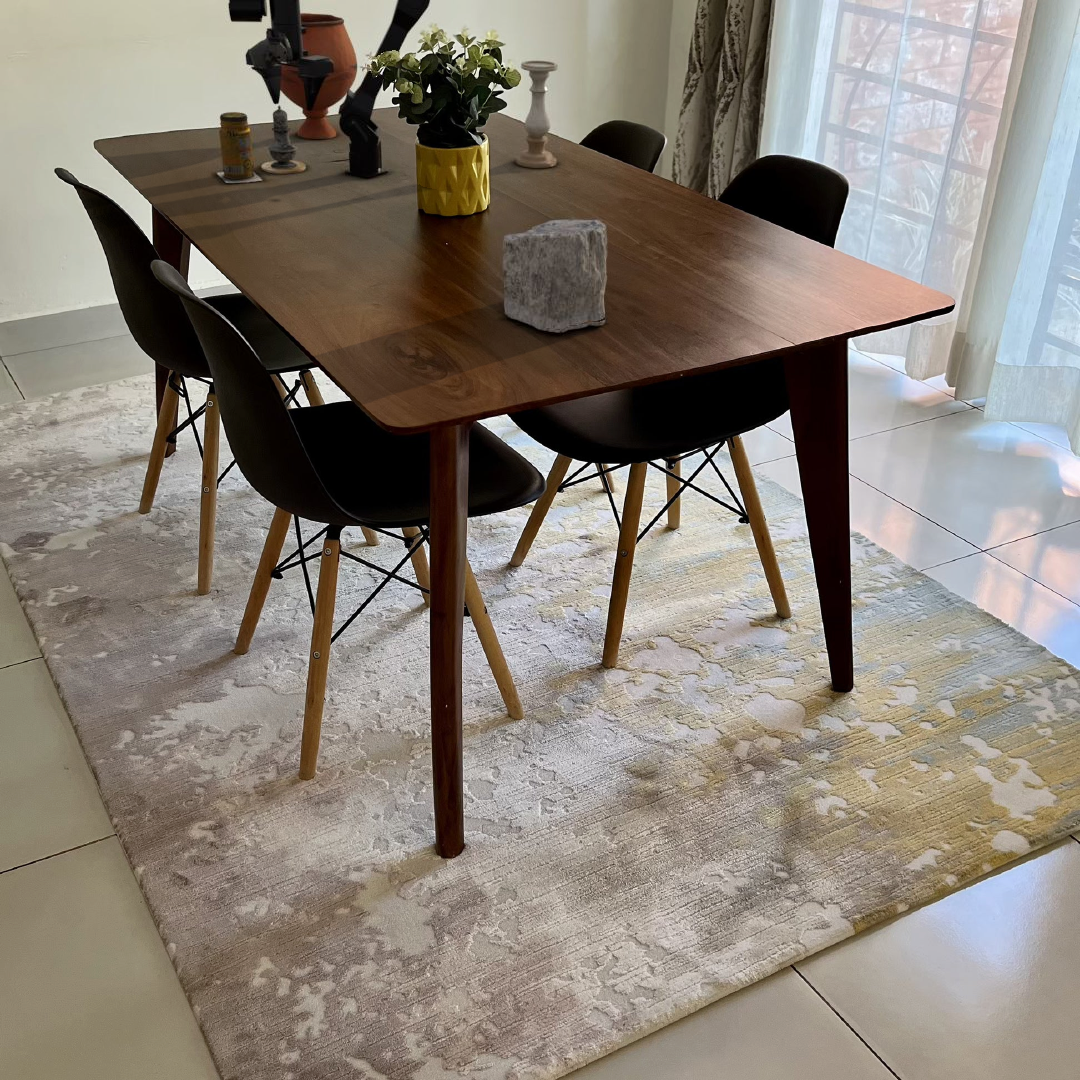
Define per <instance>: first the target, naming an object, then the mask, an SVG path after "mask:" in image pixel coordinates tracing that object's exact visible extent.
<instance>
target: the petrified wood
mask: <svg viewBox="0 0 1080 1080" xmlns="http://www.w3.org/2000/svg"><path fill="white" fill-rule="evenodd" d="M501 252H502V254H503V255H502V262H501V268H502V276H503V294H504V295H503V296H504V301H503V308H504V314H505V316H507V317H508V318H510V319H513V320H516V321H519V322H522V323H525V324H526V325H527V324H528V325H529V326H532V327H534V328H535V329H537V330H540V331H546V332H549V333H565V332H567V331H569V330H578V329H583V328H587V327H588V326H593V327H599V326H605V323H606V311H605V292H606V286H607V282H608V281H607V280H608V271H607V257H608V235H607V226H606V224H605V223H603V222H602V220H600V219H557V220H556V219H553V220H549V221H546V222H544V223H540V224H539V225H535V226H532V228H531V229H528V230H526V231H525V232H520V233H519V232H518V233H514V234H512V233H510V234H506V235H504V236H503V239H502V248H501ZM603 318H605V320H603V321H600V322H588V323H586V324H581V323H584V322H587V321H598V320H601V319H603ZM579 324H580V325H579ZM570 325H577V326H570ZM543 327H545V328H543ZM566 327H568V328H566ZM547 328H550V329H547ZM564 328H565V329H564ZM556 329H560V330H556ZM562 329H564V330H562Z"/></svg>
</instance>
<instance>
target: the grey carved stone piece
mask: <svg viewBox="0 0 1080 1080" xmlns="http://www.w3.org/2000/svg"><path fill="white" fill-rule="evenodd" d="M288 121H289V120H288V113H287V112H286V111H285V110H284V109H282V107H281V105H280V104H279V105H278V106H277V109H276V110H274V111H273V112H272V123H273V127H272V128H271V131H273V144H272V145H270V146H268V147H267V149H268V151H269V154H270V157H271V158H272V159H273V161H276V162H274V163H273V164H271V167H273V168H276V169H291V168H295V167H296V166H297V164H296V163H294V162H292V161H293V160H294V158H295V157H296V153H297V150H298V147H297V146H296V145H293V144H291V140H290V130H291V128H290V127H289V122H288ZM290 160H291V161H290Z"/></svg>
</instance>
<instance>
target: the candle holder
mask: <svg viewBox="0 0 1080 1080" xmlns="http://www.w3.org/2000/svg"><path fill="white" fill-rule="evenodd" d="M520 68H521V69H522V70H523V71H528V76H529V78H530V79H531V81H532V82H531V86H530V87H529V92H531V101H530V102H531V104H530V109H529V111H528V114H527V116H526V118H525V121H524V129H525V131H526V133H527V134H528V135H527V136H526V137H525V141H526V142H527V145H528V149H526V150H522V151H521V153H520V155H517V156H516V157H515V163H516V164H517V165H518V166H520V167H525V168H529V169H530V168H531V169H532V168H533V169H546V168H553V167H555V166H556V165H557V163H558V162H557V160H558V159H557V158H556V157H555V156H553V154H552V152H550V151H548V150H546V149H545V147H546V144H547V143H548V141H549V138H548V137H547V136H546V135H547V134H548V133H549V131H550V128H551V121H550V118H549V116H548V113H547V110H546V93H547V92H548V91H549V90H548V88H547V86H546V82H547V80H548V78H550V72H554V71H557V70H558V69H559V67H558V63H556V62H554V61H547V60H525V61H522V62H521V63H520Z"/></svg>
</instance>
